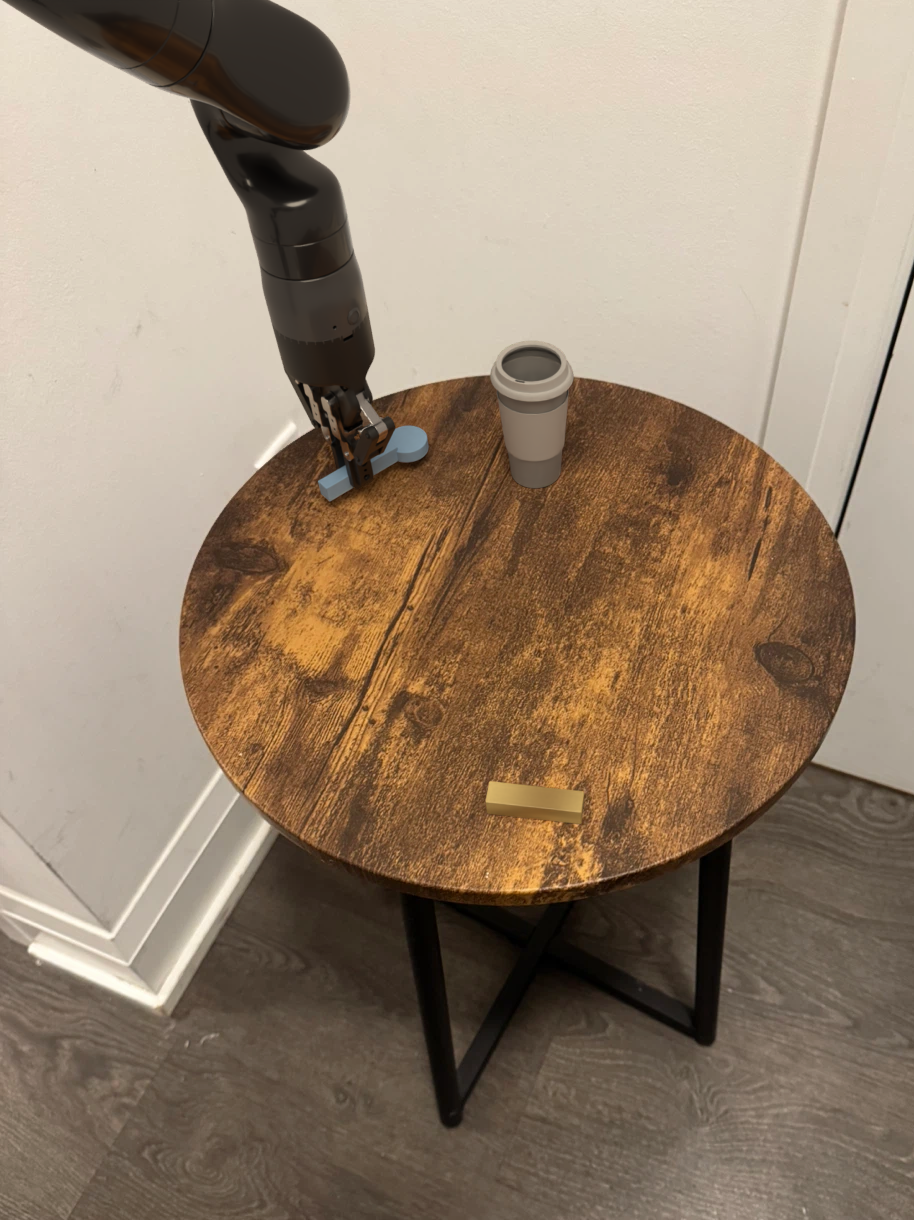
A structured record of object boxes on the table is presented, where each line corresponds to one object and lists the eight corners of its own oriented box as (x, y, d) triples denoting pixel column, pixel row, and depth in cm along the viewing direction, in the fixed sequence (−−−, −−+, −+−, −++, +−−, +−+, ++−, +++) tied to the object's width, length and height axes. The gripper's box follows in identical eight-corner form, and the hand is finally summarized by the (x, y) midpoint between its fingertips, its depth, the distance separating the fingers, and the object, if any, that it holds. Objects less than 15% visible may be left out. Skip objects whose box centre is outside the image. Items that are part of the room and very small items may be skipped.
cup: (487, 486, 96) (476, 377, 86) (513, 440, 99) (506, 330, 89) (559, 503, 94) (557, 395, 84) (583, 456, 97) (584, 346, 88)
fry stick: (486, 814, 76) (485, 801, 75) (490, 793, 77) (489, 780, 76) (581, 824, 75) (581, 812, 74) (584, 803, 76) (584, 791, 75)
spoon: (337, 509, 92) (334, 495, 91) (313, 487, 94) (309, 474, 93) (437, 449, 97) (435, 435, 95) (411, 429, 98) (409, 416, 97)
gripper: (229, 290, 82) (280, 460, 96) (329, 369, 76) (367, 538, 90) (307, 253, 84) (345, 423, 99) (410, 326, 79) (435, 496, 93)
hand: (356, 477), depth 94 cm, fingers closed on spoon, 1 cm apart
